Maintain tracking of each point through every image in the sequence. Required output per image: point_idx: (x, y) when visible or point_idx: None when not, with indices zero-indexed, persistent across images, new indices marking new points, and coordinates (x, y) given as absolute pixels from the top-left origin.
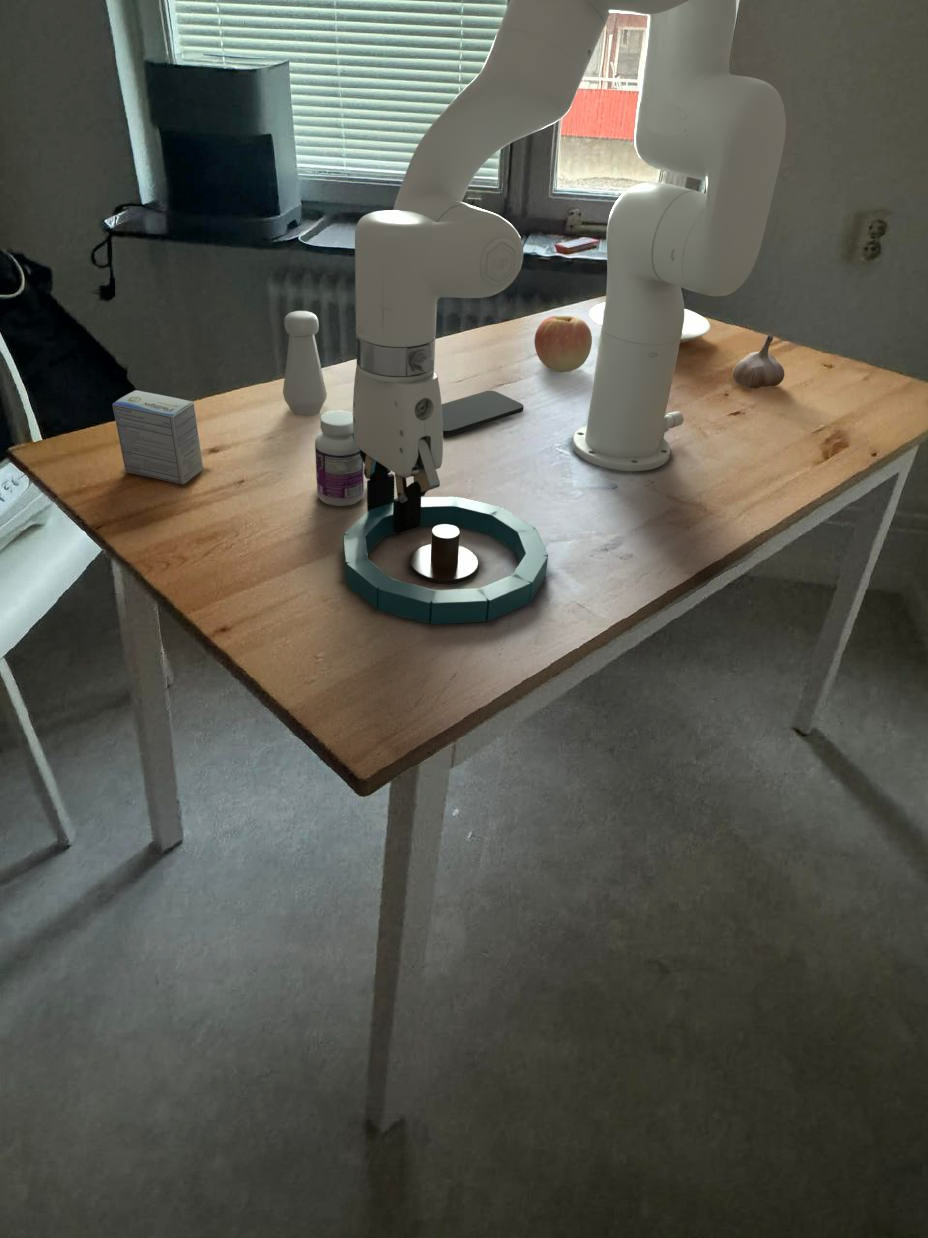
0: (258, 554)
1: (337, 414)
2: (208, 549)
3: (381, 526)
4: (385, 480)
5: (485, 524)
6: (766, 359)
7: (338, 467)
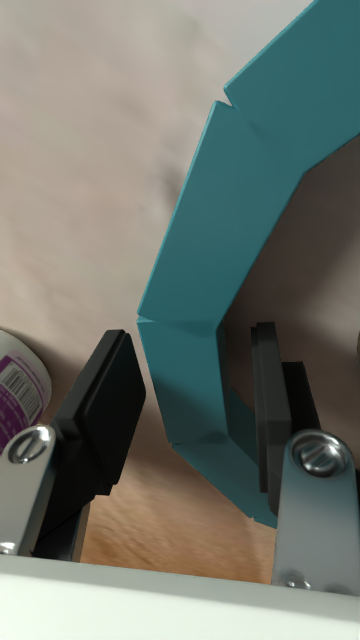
0: (176, 534)
1: None
2: (135, 556)
3: (235, 422)
4: (98, 446)
5: None
6: None
7: None
